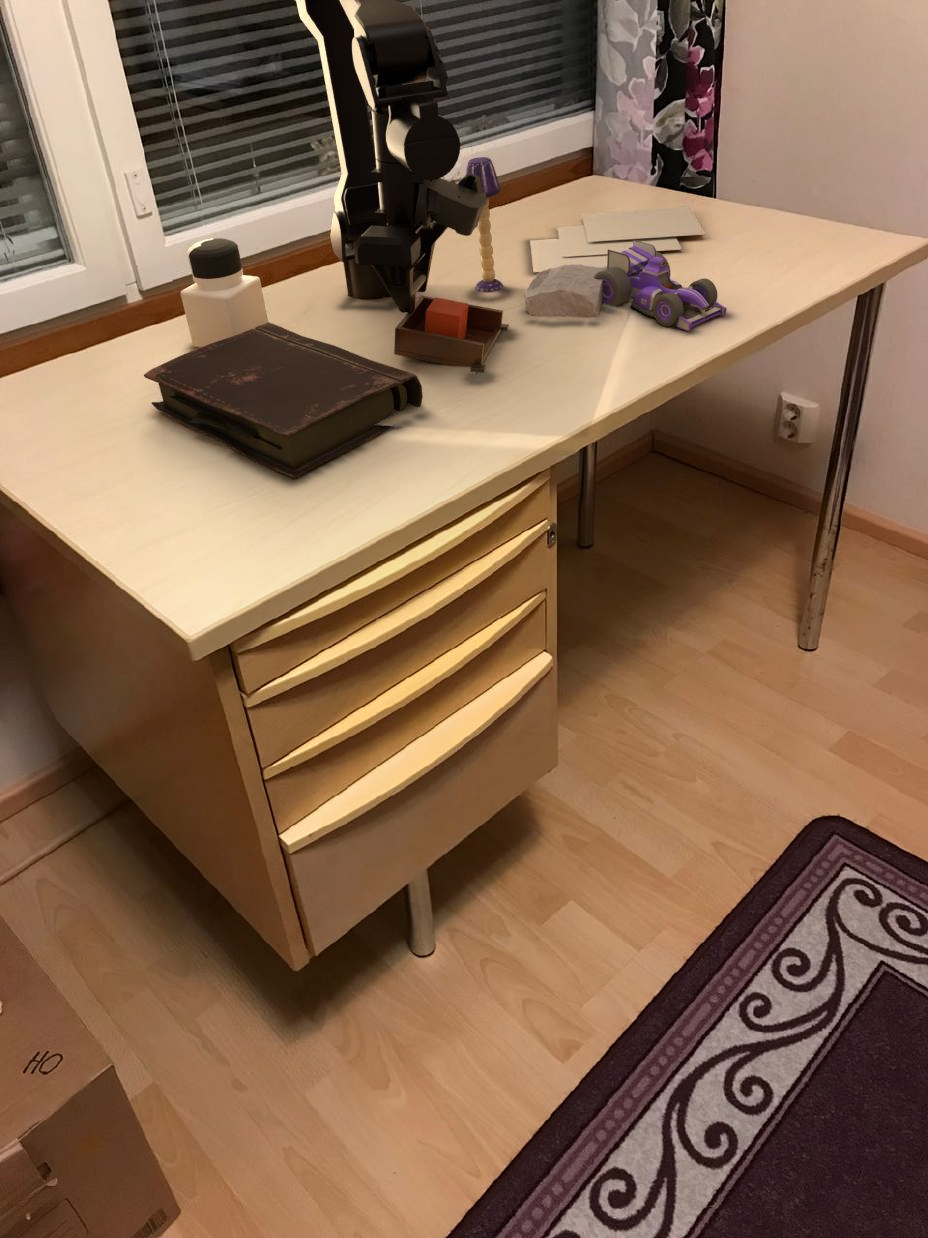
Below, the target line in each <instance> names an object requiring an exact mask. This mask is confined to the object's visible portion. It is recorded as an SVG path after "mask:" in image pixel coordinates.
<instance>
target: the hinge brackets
mask: <svg viewBox="0 0 928 1238" xmlns="http://www.w3.org/2000/svg"><path fill="white" fill-rule="evenodd" d="M509 329H510V324H509V323H502V327H501V332H508V331H509ZM469 368H470V369H469V370H470V372H471V373H475V375H478V373H485V372H486V370H487V365H486V364H482V365H472V366H471V367H469Z"/></svg>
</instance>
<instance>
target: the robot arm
mask: <svg viewBox="0 0 928 1238" xmlns="http://www.w3.org/2000/svg"><path fill="white" fill-rule="evenodd" d="M295 2H296V6H297V10H298V16H299V18H300V21H302V23H303V24H304V26H305V27H306V28H307V29H308V31H309V32H310V33H311V35H312V36H313V37H314V38H315V39H316V41H317V44H318V49H319V55H320V61H321V66H322V71H323V72H322V73H323V76H324V77H323V78H324V82H325V88H326V94H327V100H328V105H329V110H330V116H331V121H332V127H333V133H334V138H335V143H336V149H337V155H338V159H339V165H340V172H341V175H340V177H339V181H338V184H337V187H336V190H335V193H334V196H333V203H334V209H335V210H334V212H333V213H332V219H331V220H332V221H331V229H330V234H329V235H330V237H329V238H330V243H331V248H332V253H333V254H334V255H335V256H336V257H337V259H338V260H339V261H340V262H341V263H343V270H344V277H345V283H346V284H345V285H346V290H347V296H348V297H354V298H355V299H358V300H362V301H363V300H364V301H373V300H381V299H384V298H391V299H392V300H393V302H394V304H395V306H396V307H397V309H398V310H399V312H400V313H403V314H407V313H408V312H409V311H410V308H411V298H412V284H413V273H414V272H415V271H417V270H420V271H423V272H424V273H425V275H426V281H425V282H424V284H423V285H422V286H421V287H420V289H419V290H418V291H417V292H416V293H425V292H426V291H427V289H428V283H429V277H430V272H431V267H432V263H433V262H432V261H433V256H434V250H435V246H436V242H437V240H439V239H440V238H441V236H442V235H443V234H444V233H445V232H446V231H447V230H448V228H449V229H451V230H454V231H455V233H456V234H458V235H461V236H465V237H469V236H472V233H473V232H474V231H475V229H476V228H478V223H479V220H480V216H481V213H482V210H483V207H484V206H485V205H486V197H485V195H486V193H484V192H483V193H482V187H481V180H480V177H479V176H476V175H474V174H472V173H467V174H466V173H465V174H464V176H463V177H462V178H461V179H460V180H459V181H458V183H457V182H456V179H453V178H452V179H451V180H446V179H445V178H444V177H445V176H447V175H448V174H449V173H451V172H452V170H453V169H454V168H455V166H456V165H457V162H458V161H459V157H460V154H461V139H460V136H459V134H458V131H457V129H456V128H455V126H454V125H453V124H452V123H451V122H450V121H449V120H448V119H447V118H445V117H444V116H442V115H440V114H439V103H438V101H437V100H438V99H439V100H440V99H444V98H445V99H446V98H448V97H449V96H448V94H449V93H448V89H447V85H448V80H449V76H448V73H447V70H446V67H445V64H444V61H443V58H442V55H441V52H440V49H439V47H438V44H437V43H438V42H437V41H436V39H435V38H434V35H433V32H432V30H431V29H430V28H429V27H427V25H426V22H425V21H424V19H423V18H422V17H421V16H420V14H419V13H418V12H417V11H416V10H415V8H413V7H412V6H411V5H409V4H406V3H404V2H403V3H402V2H400V1H397V0H295ZM427 76H428V80H427ZM368 106H370V107H371V116H372V117H371V119H372V126H371V120H370V113H369V108H368ZM372 130H373V131H372Z"/></svg>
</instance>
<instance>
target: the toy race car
mask: <svg viewBox="0 0 928 1238" xmlns="http://www.w3.org/2000/svg"><path fill="white" fill-rule="evenodd" d="M594 278H595V279H598V280H603V302H602V303H605V304H607V305H609V306H612V307H618V306H621V305H623V304H625V303H628V302H629V300H630V299H631V297H632V299H633V300H634V301H632V302H631V304H630V307H632V308H634V309H636V310H637V311H639V312H641V313H643V314H644V315H646V316H649V317H652V318H654V319H655V320H656V322H657V323H658V324H659V325H661V326H663V327H670V326H673V325H675V324H676V328H678V329H681V330H683V331H687V332H690V331H692V328H693V327H694V326H697V325H699V324H700V323H704V322H705V321H707V320H709V319H710V320H711V319H712V318H715V317H717V316H719V315H720V316H722V317H723V316H724V317H725V316H726V315H727V310H728V308H727V307H725V306H724V305H722V304H721V303H720V302H718V290H717V287H716V285H715V283H714V282H713V281H711V280H710V279H708V278H706V277H705V278H704V277H703V278H700V279H697V280H694V281H692V282H691V283H690V284H689V285H688V287H686V286H685V287H684V286H683V285H682V284H681V283H679V282H678V281H676V280H673V279H671V266H670V264H669V262H668V260H667V258H666V257H665V256H664V255H663V254H662V253H660V252H659V251H656V249H655V247H654V246H653V245H651V244H647V243H643V242H640V241H636V240H633V247H630V248H629V249H627V250H625V251H622V252H616V251H612V250H609V249H608V256H607V269H605V270H603V271H600V272H598V273H597V274H596V275H595V276H594ZM709 309H710V310H709ZM694 310H695V311H696V312H700V314H698V315H696V316H693V317H690V318H687V319H686V318H685V317H684V311H689V312H691V311H694Z"/></svg>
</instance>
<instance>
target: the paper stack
mask: <svg viewBox="0 0 928 1238" xmlns="http://www.w3.org/2000/svg"><path fill="white" fill-rule="evenodd" d="M580 216H581V220H582V223H583V225H582V224H581V225H565V226H557V227H556V230H557V234H558V238H547V239H545V238H544V239H531V240H529V244H530V253H531V262H532V263H531V264H532V271H533V273H540V272H542V271H543V270H548V269H549V268H556V267H559V266H562V265H571V264H574V265H578V264H582V265H585V266H594V267H604V266H607V256H608V249H609V250H612V251H616V252H622V251H625V250H627V249H629V248H630V247H633V240H636V241H640V242H643V243H647V244H651V245H653V246H654V247H655V249H656V252H665V251H680V250H682V246H681V245H680V242H679V240H678V238H677V237H685V236H701V235H706V233H705V231H704V229H703V227H702V226H701V224H700V222H699V220H698V219H697V217H696V215H695V213H694V211H693V210H692V208H691V206H689V205H688V206H687V205H686V206H673V207H658V208H644V209H643V208H642V209H628V210H614V211H613V210H612V211H611V210H610V211H599V212H583V213H580Z"/></svg>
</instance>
